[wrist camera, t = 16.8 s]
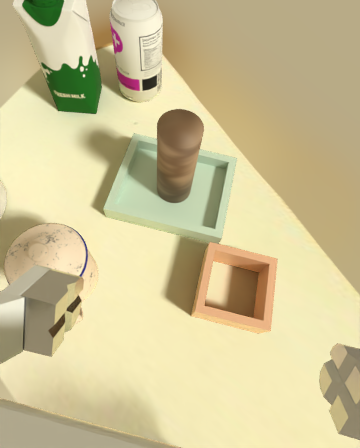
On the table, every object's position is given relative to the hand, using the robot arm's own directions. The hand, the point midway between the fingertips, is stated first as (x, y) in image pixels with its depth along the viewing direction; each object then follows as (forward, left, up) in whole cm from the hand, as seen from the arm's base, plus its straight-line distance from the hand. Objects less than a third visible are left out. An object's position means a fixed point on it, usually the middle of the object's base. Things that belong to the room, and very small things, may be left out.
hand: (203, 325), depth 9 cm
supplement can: (-17, +44, -32) cm, 57 cm away
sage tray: (-5, +23, -31) cm, 39 cm away
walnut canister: (-5, +23, -31) cm, 39 cm away
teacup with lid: (-15, +4, -32) cm, 35 cm away
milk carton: (-27, +38, -32) cm, 57 cm away
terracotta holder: (+7, +9, -31) cm, 33 cm away
